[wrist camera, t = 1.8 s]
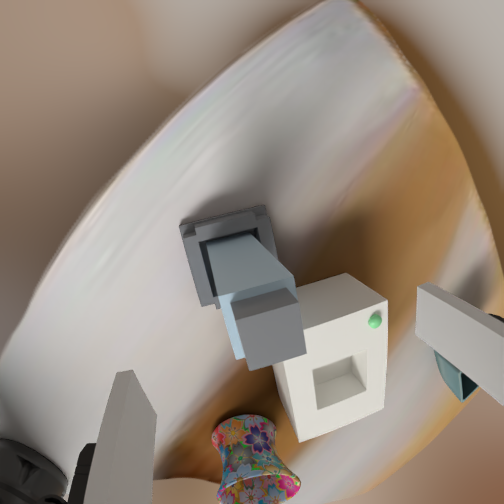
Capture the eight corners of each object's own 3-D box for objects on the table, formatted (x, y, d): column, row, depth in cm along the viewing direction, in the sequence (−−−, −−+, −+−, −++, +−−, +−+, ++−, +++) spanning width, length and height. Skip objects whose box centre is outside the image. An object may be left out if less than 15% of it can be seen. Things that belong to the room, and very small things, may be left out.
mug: (204, 412, 33) (212, 480, 23) (278, 403, 35) (305, 465, 24) (213, 465, 36) (222, 522, 26) (275, 456, 38) (295, 511, 27)
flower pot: (428, 375, 40) (462, 404, 31) (419, 342, 37) (458, 373, 29) (464, 340, 40) (499, 364, 32) (458, 304, 37) (499, 328, 29)
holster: (201, 304, 29) (202, 315, 27) (179, 225, 27) (177, 230, 25) (279, 283, 30) (286, 292, 28) (263, 204, 28) (270, 207, 26)
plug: (216, 282, 29) (242, 381, 14) (205, 242, 27) (222, 313, 13) (257, 271, 29) (317, 357, 15) (248, 231, 28) (307, 289, 14)
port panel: (279, 397, 34) (300, 445, 26) (257, 298, 30) (279, 340, 22) (354, 370, 36) (386, 409, 28) (347, 271, 32) (392, 300, 24)
